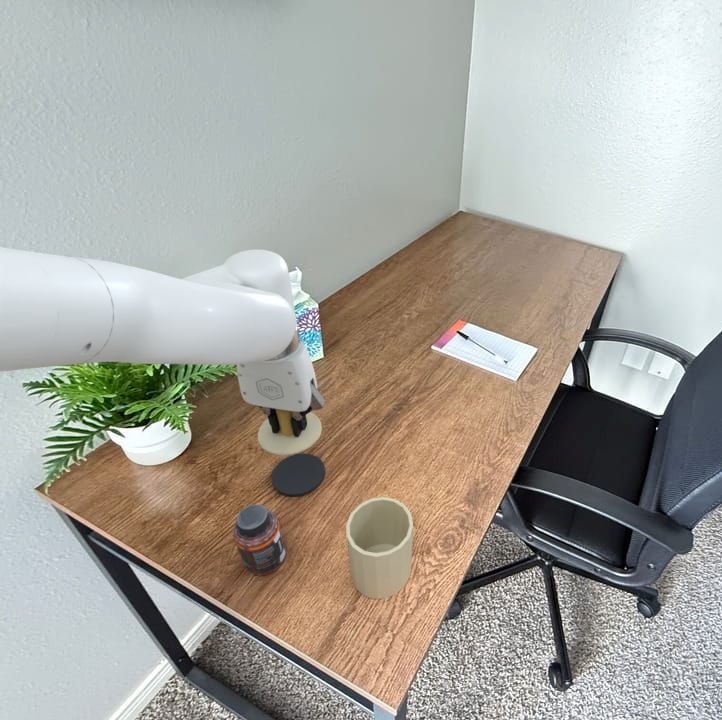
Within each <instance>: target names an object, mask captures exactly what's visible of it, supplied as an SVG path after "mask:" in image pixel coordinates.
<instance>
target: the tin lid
mask: <svg viewBox="0 0 722 720" xmlns="http://www.w3.org/2000/svg"><path fill="white" fill-rule="evenodd" d="M276 413H277V417H278V422H279V426H280V431H279V432H278V433H277V434H275V433H273V432H272V428H271V425H270V424H269V420H268V418H266V419H265V420H264V421H263V422H262V423H261V425H260V426H259V429H258V432H257V441H258V444H259V446H260V447H261V448H262V449H263V450H264V451H265V452H267V453H269V454H271V455H275V456H292V455H295V454H301V453H302V452H304V451H306V450H309V449H310V448H312V446H314V445H315V444H316V442H317V441H318V440H319V438H320V437H321V434H322V429H323V427H322V422H321V419H320V418H319V417H318V416H317V415H316V414H315V413H313V412H309V413H308V414H306V419H307V427H306V429H305V430H302V432H301V434H300V436H299V437H295V436H294V434H293V429H292V425H291V419H292V417H293V414H292V411H288V410H281V409H276Z"/></svg>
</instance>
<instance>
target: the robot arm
mask: <svg viewBox="0 0 722 720" xmlns="http://www.w3.org/2000/svg"><path fill="white" fill-rule="evenodd" d="M292 290H293V289H292V284H291V278H290V273H289V267H288V264H287V262H286V261H285V259H284V258H283V257H282V256H281V255H280V254H279V253H276V252H275V251H271V250H268V249H247V250H241V251H238V252H236V253H234V254H232V255H230V256H229V257H228V258H227V259H226V260H225V261H224V262H223V263H222V264H219V265H218V266H214V267H212V268H209V269H205V270H203V271H200V272H197V273H193V274H191V275H188V276H185V277H183V278H178V277H174V276H171V275H168V274H164V273H160V272H156V271H153V270H149V269H145V268H141V267H137V266H132V265H127V264H124V263H118V262H114V261H109V260H103V259H96V258H87V257H79V256H71V255H60V254H54V253H53V254H52V253H47V252H46V253H45V252H38V251H31V250H24V249H18V248H17V249H16V248H9V247H4V246H0V372H1V373H2V372H12V371H19V370H29V369H40V368H51V367H61V366H74V365H75V366H76V365H84V364H95V363H97V364H99V363H125V364H126V363H127V364H139V365H141V364H142V365H193V366H194V365H199V366H236V375H237V381H238V386H239V391H240V393H239V395H240V396H241V398H242V399H243V401H244V402H245V403H247V404H249V405H252V406H257V407H258V408H260V409H261V411H262V414H263V415H265V416H267V419H268V420H269V424H270V425H271V428H272V432H273V433H275V434H277V433H278V432H279V431H280V426H279V422H278V417H277V413H276V409H281V410H288V411H292V414H293V417H292V419H291V425H292V429H293V434H294V436H295V437H299V436H300V434H301V432H302V430H305V429H306V427H307V419H306V414H308V413H309V412H311V411H318V410H323V408H324V406H325V405H326V400H325V398H324V397H323V395H322V394H321V393H320V392H319V391H318V382H317V376H316V372H315V369H314V365H313V362H312V358H311V355H310V353H309V351H308V348H307V346H306V344H305V343H304V342H303V341H301V337H300V333H299V326H298V319H297V315H296V307H295V302H294V297H293V296H294V295H293V291H292ZM311 413H312V412H311Z"/></svg>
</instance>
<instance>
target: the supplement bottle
mask: <svg viewBox="0 0 722 720" xmlns="http://www.w3.org/2000/svg"><path fill="white" fill-rule="evenodd" d="M232 531H233V532H232V536H233V539H234V540H233V541H234V543H235V545H236V548H237V550H238V552H239V555H240V557H241V560H242V563H243V564H244V567H245V568H246V570H247V572H248V573H250V574H251V575H254V576H259V577H261V576H262V577H263V576H266V575H267V576H268V575H270V574H272V573H274V572H275V571H277V570H278V569H279V568H281V566H282V565H283V563H284V562H285V560H286V557H287V547H286V543H285V540H284V536H283V533H282V529H281V526H280V523H279V519H278V517H277V515H276V514H275V513H273V511H271V510H269V509H267V508H266V507H265V506H264V505H262V504H256V503H255V504H250V505H248V506H246V507H244V508H242V509H241V510H240V511H239V513H238V514H237V516H236V523H235V524H234V526H233V530H232Z"/></svg>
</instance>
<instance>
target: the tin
mask: <svg viewBox="0 0 722 720" xmlns="http://www.w3.org/2000/svg"><path fill="white" fill-rule="evenodd" d="M345 534H346V535H345V536H346V537H345V538H346V544H347V545H346V546H347V552H348V561H349V568H350V569H349V570H350V577H351V581H352V584H353V586H354V588H355V590H357V592H359V594H361V595H363V596H364V597H366V598H369V599H373V600H383V599H387V598H391V597H393V596H395V595H396V594H398V593H399V592H400V591H402V590H403V589H404V587H405V586H406V585H407V583H408V581H409V579H410V576H411V571H412V566H413V565H412V564H413V563H412V562H413V539H414V538H413V537H414V524H413V515H412V513H411V512H410V510H409V508H408V507H407V506H406V504H404V503H402V502H400V501H399V500H397V498H391V497H386V496H380V497H371V498H369V499H368V500H365V501H364V502H362V503H359V504H358V505H357V507H355V508H354V509H353V511H351V512H350V515H349V517H348V519H347V521H346V524H345Z"/></svg>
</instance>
